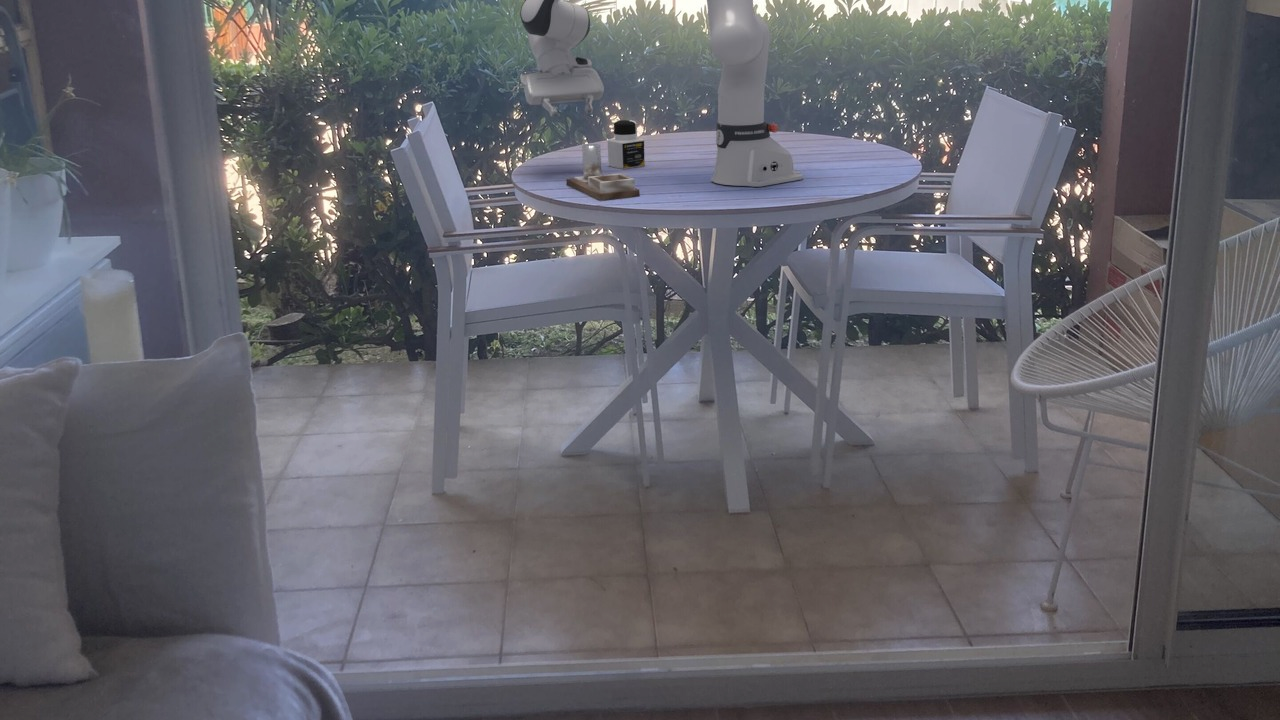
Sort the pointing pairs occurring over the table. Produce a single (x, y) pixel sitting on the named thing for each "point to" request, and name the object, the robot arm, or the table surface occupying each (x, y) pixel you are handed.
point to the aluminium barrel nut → (591, 160)
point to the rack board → (605, 186)
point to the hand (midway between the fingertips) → (572, 113)
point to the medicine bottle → (625, 146)
